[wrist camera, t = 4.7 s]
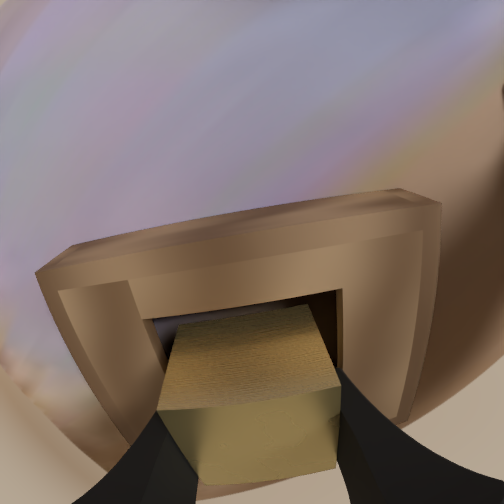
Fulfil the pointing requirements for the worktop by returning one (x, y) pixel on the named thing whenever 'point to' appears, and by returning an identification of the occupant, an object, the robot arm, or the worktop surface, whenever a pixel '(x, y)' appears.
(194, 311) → the brown wooden frame
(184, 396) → the wooden block
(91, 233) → the worktop surface
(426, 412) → the worktop surface
